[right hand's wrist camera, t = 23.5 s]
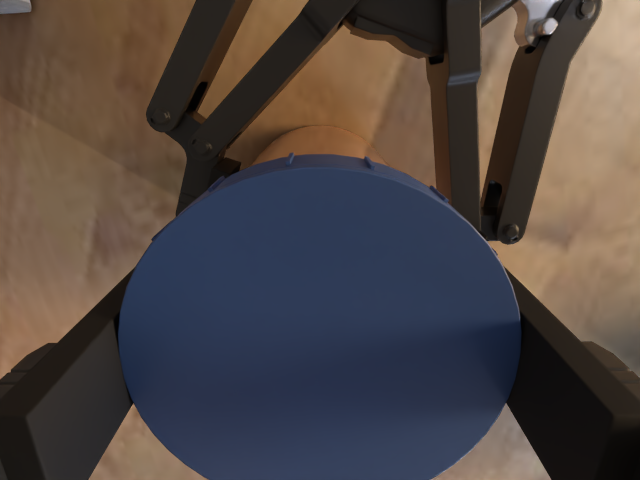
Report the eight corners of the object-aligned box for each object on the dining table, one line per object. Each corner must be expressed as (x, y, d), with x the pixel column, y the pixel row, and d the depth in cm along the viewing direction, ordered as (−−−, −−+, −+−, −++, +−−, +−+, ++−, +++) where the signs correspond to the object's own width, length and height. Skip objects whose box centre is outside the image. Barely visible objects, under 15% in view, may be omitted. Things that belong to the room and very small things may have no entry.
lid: (118, 412, 13) (87, 461, 12) (185, 93, 10) (156, 94, 8) (410, 485, 14) (422, 540, 13) (559, 222, 11) (604, 247, 9)
